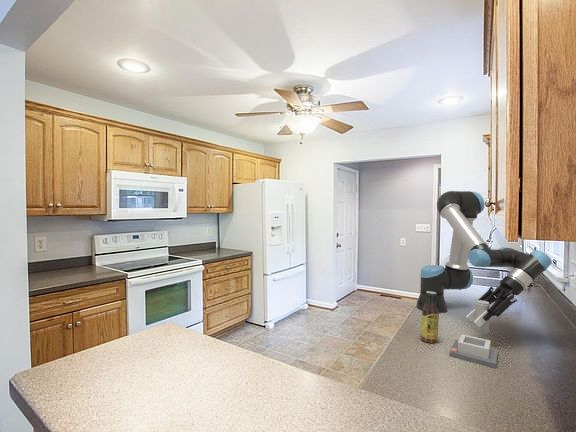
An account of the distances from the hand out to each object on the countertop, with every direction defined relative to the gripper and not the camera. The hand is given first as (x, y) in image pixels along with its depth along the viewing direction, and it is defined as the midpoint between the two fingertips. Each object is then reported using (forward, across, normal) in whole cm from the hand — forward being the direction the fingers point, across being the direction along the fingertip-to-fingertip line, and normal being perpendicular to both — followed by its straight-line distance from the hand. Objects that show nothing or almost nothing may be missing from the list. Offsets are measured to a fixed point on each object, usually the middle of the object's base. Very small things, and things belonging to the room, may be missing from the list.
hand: (472, 321), depth 124 cm
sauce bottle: (+18, +1, +5) cm, 19 cm away
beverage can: (0, 0, -6) cm, 6 cm away
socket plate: (+10, -11, -2) cm, 15 cm away
